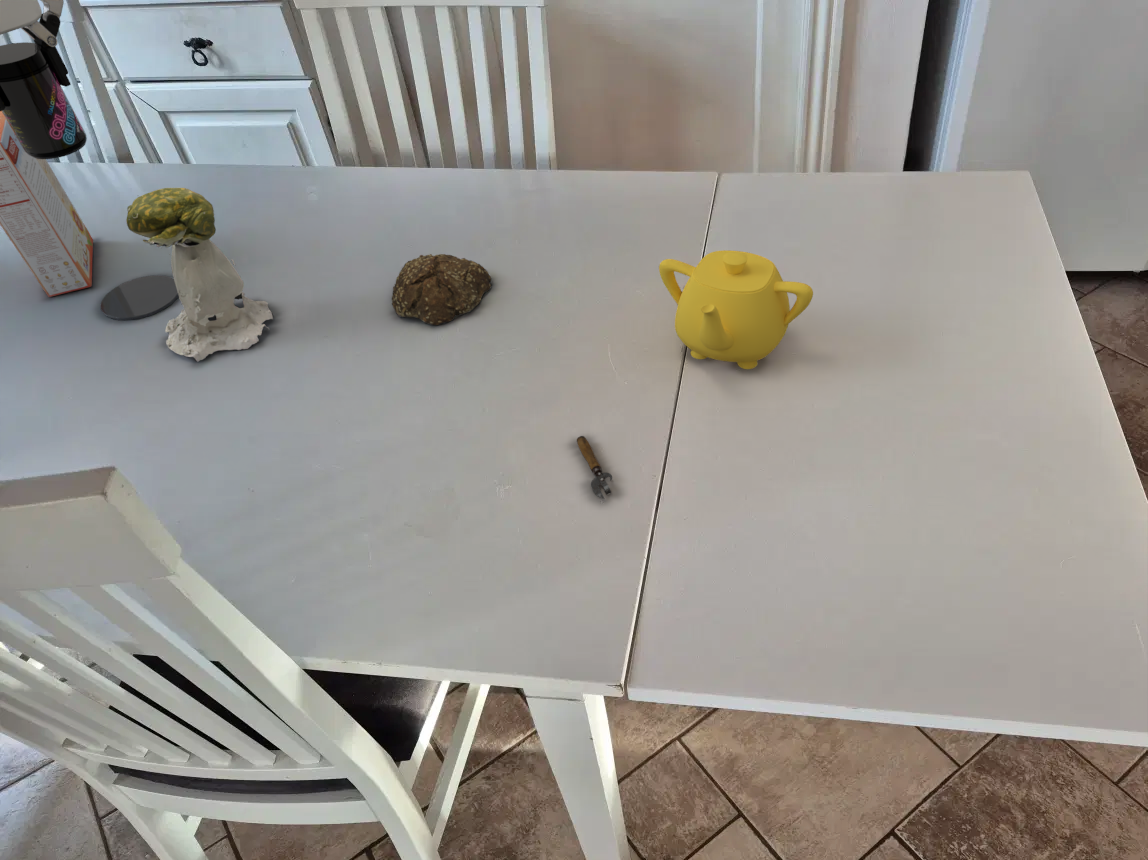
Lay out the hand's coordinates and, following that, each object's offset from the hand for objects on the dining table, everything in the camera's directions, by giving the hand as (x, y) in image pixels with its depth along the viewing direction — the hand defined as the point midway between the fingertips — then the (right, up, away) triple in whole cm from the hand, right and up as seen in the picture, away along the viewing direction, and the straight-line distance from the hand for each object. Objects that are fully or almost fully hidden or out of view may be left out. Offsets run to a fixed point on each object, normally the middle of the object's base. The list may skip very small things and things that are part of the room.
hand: (29, 94), depth 93 cm
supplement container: (0, -4, +5) cm, 6 cm away
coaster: (+1, -19, +19) cm, 27 cm away
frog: (+15, -24, +13) cm, 31 cm away
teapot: (+78, -28, +6) cm, 83 cm away
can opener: (+63, -42, -6) cm, 76 cm away
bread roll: (+42, -19, +17) cm, 49 cm away
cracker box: (-12, -13, +25) cm, 31 cm away
